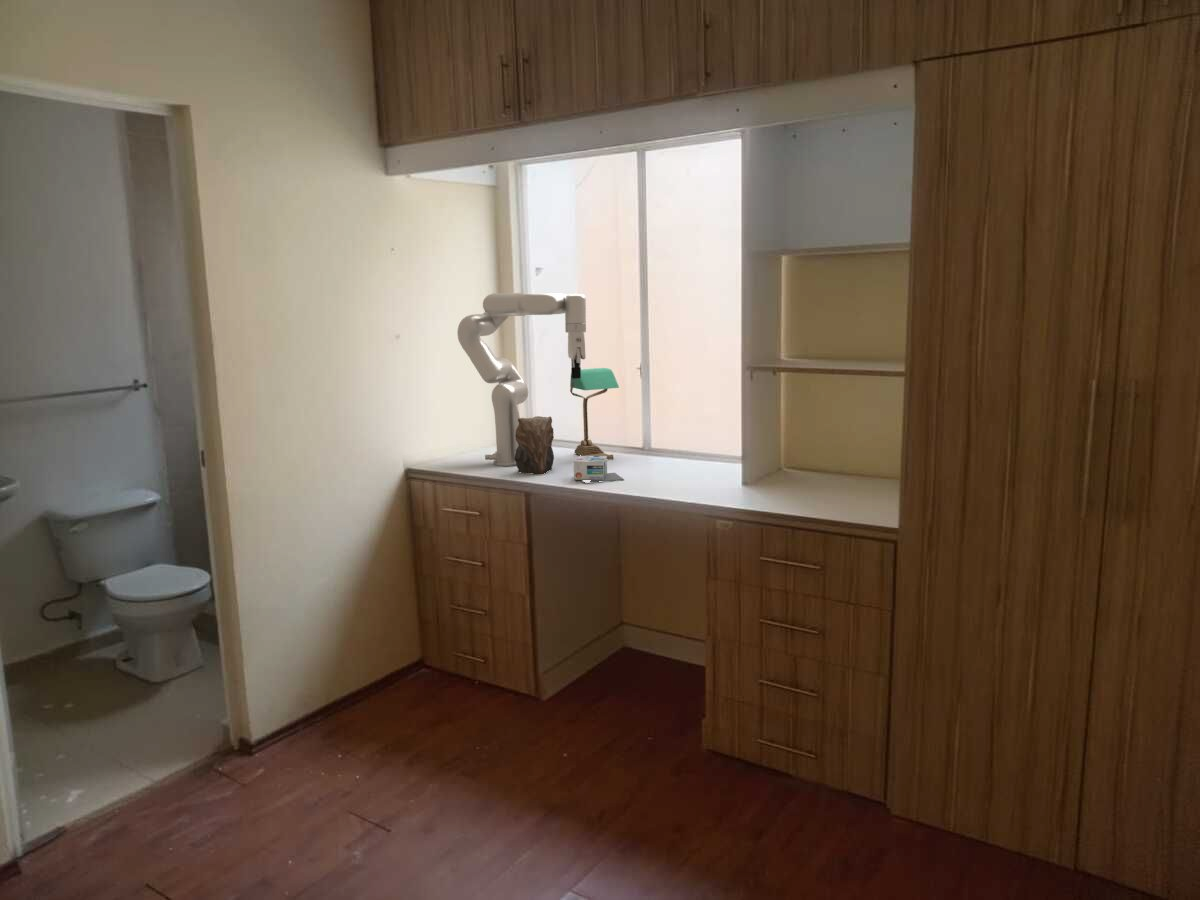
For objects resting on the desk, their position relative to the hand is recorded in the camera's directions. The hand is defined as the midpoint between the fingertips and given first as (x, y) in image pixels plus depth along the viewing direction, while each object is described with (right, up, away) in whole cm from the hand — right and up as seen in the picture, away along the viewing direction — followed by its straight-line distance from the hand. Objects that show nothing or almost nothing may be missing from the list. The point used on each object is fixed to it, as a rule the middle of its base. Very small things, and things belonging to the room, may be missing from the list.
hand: (576, 378), depth 321 cm
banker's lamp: (+7, -30, +25) cm, 39 cm away
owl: (-15, -35, 0) cm, 38 cm away
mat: (+9, -37, -16) cm, 41 cm away
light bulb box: (+6, -32, -10) cm, 34 cm away
